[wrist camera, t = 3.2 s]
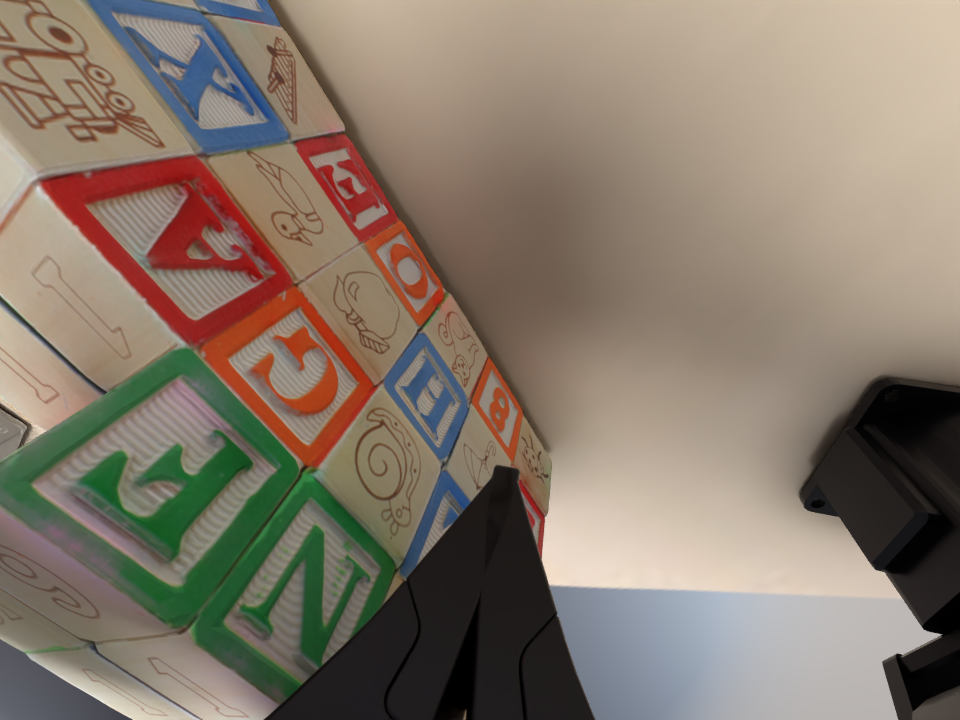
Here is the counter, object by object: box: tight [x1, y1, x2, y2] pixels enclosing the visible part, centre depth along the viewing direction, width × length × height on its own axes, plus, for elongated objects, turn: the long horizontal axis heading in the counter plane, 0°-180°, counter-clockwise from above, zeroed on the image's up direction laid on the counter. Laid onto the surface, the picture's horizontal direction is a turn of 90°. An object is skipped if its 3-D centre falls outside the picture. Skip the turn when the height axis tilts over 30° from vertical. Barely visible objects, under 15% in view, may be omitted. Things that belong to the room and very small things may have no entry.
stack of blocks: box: [0, 0, 552, 720], centre depth 11 cm, size 21×6×12 cm, turn 30°
